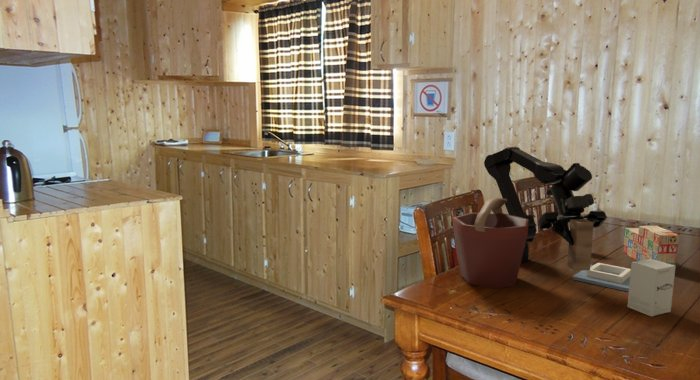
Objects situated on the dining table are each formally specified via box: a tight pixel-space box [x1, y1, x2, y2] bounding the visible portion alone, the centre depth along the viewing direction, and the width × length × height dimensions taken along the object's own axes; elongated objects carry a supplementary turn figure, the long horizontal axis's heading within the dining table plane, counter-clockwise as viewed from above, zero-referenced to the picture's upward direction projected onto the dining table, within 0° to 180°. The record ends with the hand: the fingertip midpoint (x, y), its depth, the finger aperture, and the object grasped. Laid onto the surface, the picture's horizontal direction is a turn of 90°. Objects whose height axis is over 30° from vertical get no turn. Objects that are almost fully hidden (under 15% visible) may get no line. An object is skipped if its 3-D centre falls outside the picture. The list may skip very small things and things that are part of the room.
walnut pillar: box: [566, 219, 594, 272], centre depth 150 cm, size 4×4×14 cm
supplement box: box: [627, 259, 677, 317], centre depth 134 cm, size 7×7×13 cm
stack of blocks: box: [623, 225, 680, 266], centre depth 176 cm, size 21×6×12 cm, turn 179°
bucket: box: [452, 197, 528, 289], centre depth 158 cm, size 24×22×25 cm
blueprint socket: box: [571, 262, 631, 293], centre depth 159 cm, size 16×16×3 cm
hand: (580, 244), depth 149 cm, fingers closed on walnut pillar, 4 cm apart
